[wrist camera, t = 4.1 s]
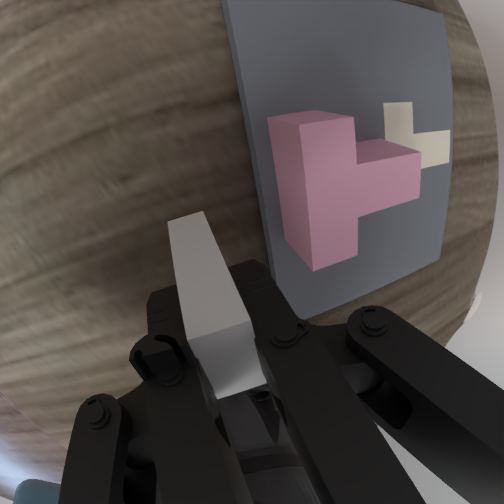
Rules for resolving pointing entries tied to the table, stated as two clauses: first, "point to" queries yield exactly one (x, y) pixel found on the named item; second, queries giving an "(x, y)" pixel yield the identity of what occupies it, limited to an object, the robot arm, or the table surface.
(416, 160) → the t block
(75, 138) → the table surface
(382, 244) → the board
